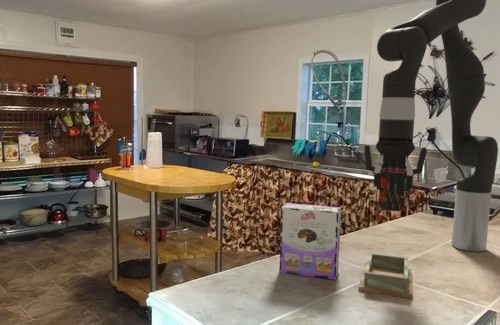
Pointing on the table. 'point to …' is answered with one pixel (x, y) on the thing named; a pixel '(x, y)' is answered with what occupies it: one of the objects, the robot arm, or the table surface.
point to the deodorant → (393, 178)
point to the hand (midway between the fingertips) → (392, 189)
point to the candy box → (310, 240)
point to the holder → (387, 276)
